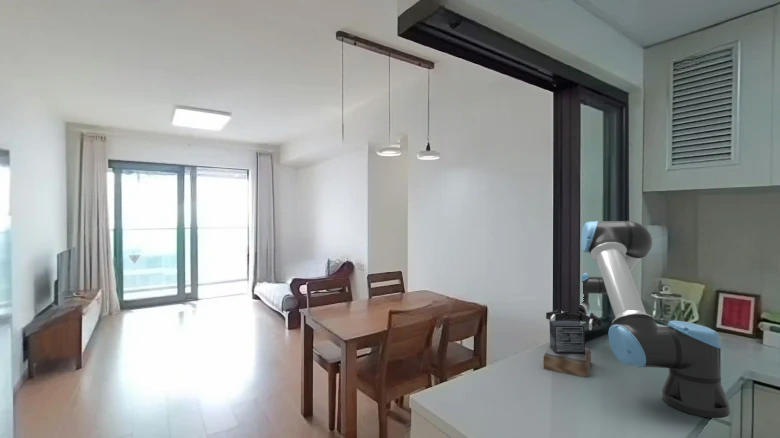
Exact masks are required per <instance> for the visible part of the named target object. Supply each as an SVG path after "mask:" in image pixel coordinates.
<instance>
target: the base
mask: <svg viewBox="0 0 780 438" xmlns="http://www.w3.org/2000/svg"><path fill="white" fill-rule="evenodd" d="M591 364H592V350H590V348H587V347H585V354H559V353H555V352H554V351H553V350H552V349H551V348H550V345H549V346H548V348H547V350H546V351H545V352H544V355H543V370H544V369H545V370H549V371H553V372H560V373H565V374H568V375H575V376H578V377H579V376H580V377H584V378H588V376H589V372H590V368H591Z"/></svg>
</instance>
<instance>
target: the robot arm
mask: <svg viewBox="0 0 780 438" xmlns="http://www.w3.org/2000/svg"><path fill="white" fill-rule="evenodd" d="M580 238H581V239H580V245H581V250H582V251H583V253H589V254H590V257H591V259H592V260H593V261H595V262H597V265H598V268H599V271H600V275H601V276H589V273H588V272H585V273H584V274H583V275H582V282H583V294H584V297H583V298H584V299H583V300H584V301H583V302H582V303H581V304H580V306H579V311H578V310H577V313H569V312H570V311H566V310H564V311H561V313H559V311H558V309H556V310H553V311H549V312H546V313H545V319H546V320H548V321H560V320H564V321H570V319H577V320H578V321H579V322H580V323H584V322H585V323H586V324H588V331H592V329H593V327H594V328H595V327H596V326H599V327H602V319H601V318H599V317H598V316H596V315H595V313H593V312H591V313H588V312H589V310H590V302H589V301H590V299H589V294H591V295H592V294H595V295H596V294H597V295H607V296H608V299H609V303H610V306H611V309H612V311H613V315H614V319H613V320H612V322H611V325H610V327H609V329H608V341H609V346H610V349H611V350H612V353H613V355H614V357H615V358H616V359H617V360H618V361H619V362H620V363H621V364H622V365H625V366H631V367H636V368H658V369H659V368H660V369H668V375H667V377H666V378H665V381H664V383H663V385H662V389H661V395H662V396H661V398H662V400H663V401H664V402H665V403H666V404H668V405H669V406H671V407H673V408H674V409H676V410H678V411H681V412H683V413H687V414H690V415H694V416H698V417H702V418H707V419H709V418H711V419H724V418H726V417H728V416H730V414H731V410H730V409H731V405H730V402H729V400H728V396H727V394H726V393H725V390H724V387H723V385H722V372H721V371H722V355H721V354H722V348H723V347H722V343H721V337H720V334H719V333H718V332H717V331H716V330H714V329H712V328H710V327H707V326H704V325H701V324H697V323H693V322H688V321H684V320H669V321H668V323H667V326H660V325H659V326H658V323H657V322H656V319H655V318H654V317H653V315H650V314H648V313H647V312H646V309H645V306H644V304H643V301H642V299H641V297H640V294H639V292H638V288H637V285H636V283H635V281H634V278H633V275H632V271H633V270H634V268H635V267H636V265H637V264H638V263H639V261H640V260H641V259H643V258H645V257H646V256H647V255H648V254H649V253H650V251H651V249H652V247H653V237H652V234H651V233H650V231H649V230H648V229H647V228H646V227H645V226H644V225H642V224H641V223H639V222H636V221H633V220H608V221H607V220H604V221H603V220H601V221H599V220H596V221H595V220H594V221H587V222H585V224H584V225H583V227H582V231H581V236H580ZM567 313H568V314H567ZM567 317H568V318H567Z"/></svg>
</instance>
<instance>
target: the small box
mask: <svg viewBox="0 0 780 438" xmlns="http://www.w3.org/2000/svg"><path fill="white" fill-rule="evenodd" d="M548 321H549V320H548ZM585 340H586V339H585V324H583V322H579V321H572V320H555V321H549V346H550V348H551V349H552V350H553V351H554V352H555V353H559V354H585V348H586V344H585V343H586V341H585Z"/></svg>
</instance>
